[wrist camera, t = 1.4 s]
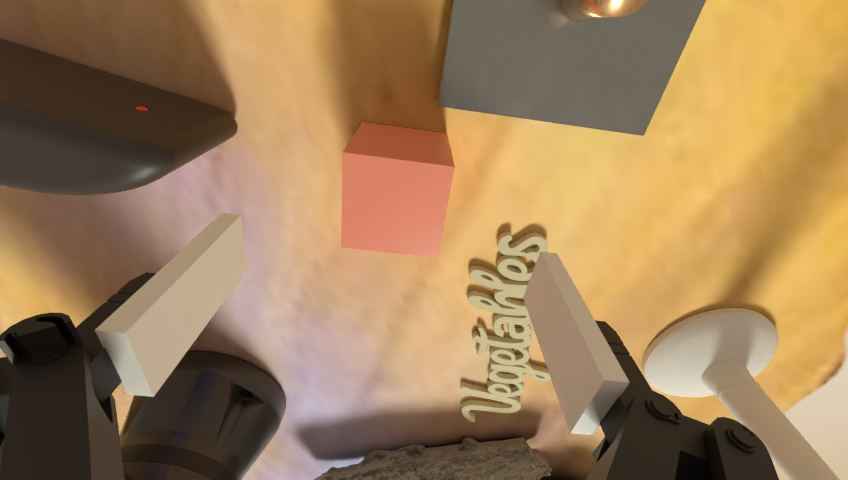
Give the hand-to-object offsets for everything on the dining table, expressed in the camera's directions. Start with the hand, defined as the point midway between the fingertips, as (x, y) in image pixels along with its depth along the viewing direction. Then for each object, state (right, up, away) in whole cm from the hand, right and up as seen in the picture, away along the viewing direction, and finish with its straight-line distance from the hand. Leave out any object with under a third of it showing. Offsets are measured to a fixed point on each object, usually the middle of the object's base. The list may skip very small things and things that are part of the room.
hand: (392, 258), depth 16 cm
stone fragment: (+1, -27, +31) cm, 41 cm away
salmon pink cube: (0, +6, +10) cm, 12 cm away
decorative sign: (+10, -9, +21) cm, 25 cm away
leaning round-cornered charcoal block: (-19, +11, +8) cm, 23 cm away
